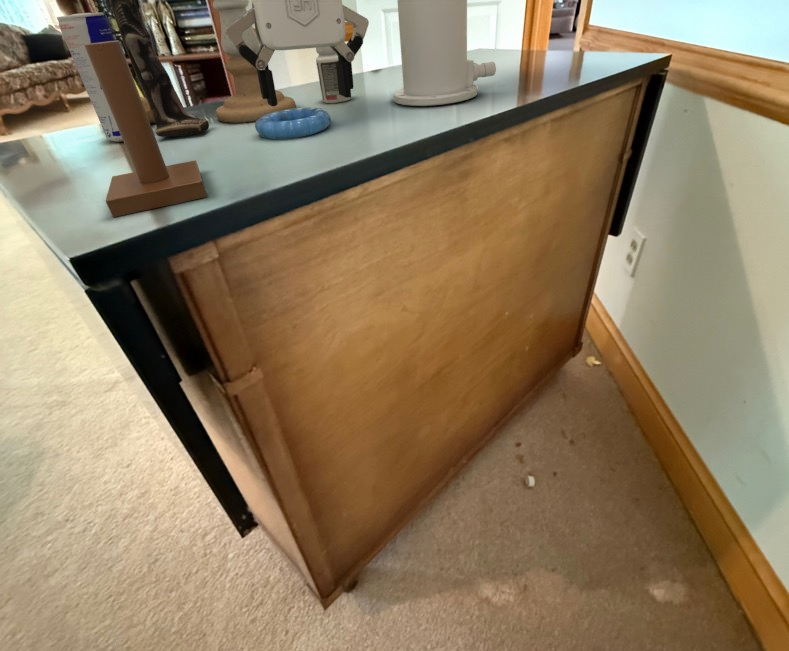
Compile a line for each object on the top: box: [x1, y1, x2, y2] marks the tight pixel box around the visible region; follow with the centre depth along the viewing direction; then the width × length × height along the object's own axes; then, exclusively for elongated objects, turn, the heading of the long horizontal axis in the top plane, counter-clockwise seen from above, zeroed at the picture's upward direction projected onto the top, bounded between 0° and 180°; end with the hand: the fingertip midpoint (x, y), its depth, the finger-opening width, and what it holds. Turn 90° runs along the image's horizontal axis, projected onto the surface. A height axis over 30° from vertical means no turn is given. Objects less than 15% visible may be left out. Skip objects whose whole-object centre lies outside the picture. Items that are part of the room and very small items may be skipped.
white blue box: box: [56, 12, 124, 143], centre depth 63 cm, size 6×6×15 cm
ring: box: [254, 107, 332, 140], centre depth 61 cm, size 10×10×2 cm
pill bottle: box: [315, 47, 352, 104], centre depth 74 cm, size 5×5×8 cm
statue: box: [108, 0, 210, 138], centre depth 59 cm, size 4×7×20 cm, turn 95°
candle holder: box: [212, 0, 297, 124], centre depth 68 cm, size 12×12×20 cm
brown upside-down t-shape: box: [84, 40, 208, 218], centre depth 41 cm, size 8×8×12 cm
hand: (309, 100), depth 60 cm, fingers open, 9 cm apart
